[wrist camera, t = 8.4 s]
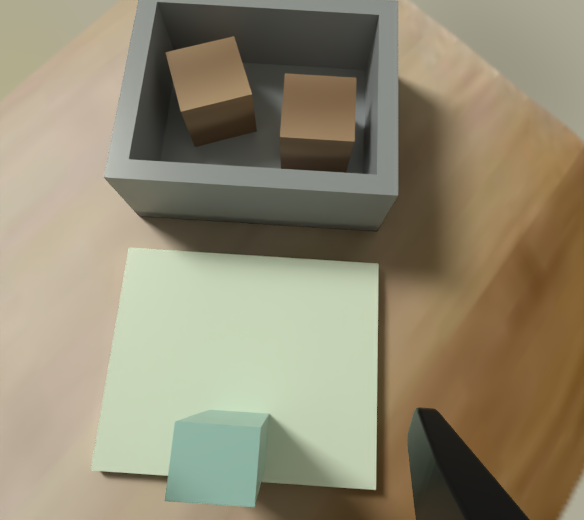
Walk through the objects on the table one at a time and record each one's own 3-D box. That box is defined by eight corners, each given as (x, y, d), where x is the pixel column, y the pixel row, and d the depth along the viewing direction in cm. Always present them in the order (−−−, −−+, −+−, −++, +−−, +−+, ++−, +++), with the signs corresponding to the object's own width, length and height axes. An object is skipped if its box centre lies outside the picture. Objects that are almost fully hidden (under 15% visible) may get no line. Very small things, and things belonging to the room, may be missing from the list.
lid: (371, 483, 18) (416, 539, 12) (101, 465, 18) (0, 510, 12) (374, 269, 20) (412, 218, 14) (136, 253, 20) (68, 196, 14)
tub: (377, 231, 20) (398, 195, 16) (139, 216, 20) (103, 177, 16) (379, 65, 23) (398, 0, 19) (166, 53, 23) (141, -15, 19)
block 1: (256, 131, 21) (252, 94, 18) (195, 147, 21) (180, 111, 18) (240, 79, 22) (234, 36, 19) (181, 93, 21) (165, 52, 19)
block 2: (345, 173, 20) (354, 141, 18) (280, 169, 20) (279, 136, 18) (347, 116, 21) (356, 77, 18) (285, 112, 21) (284, 73, 18)
